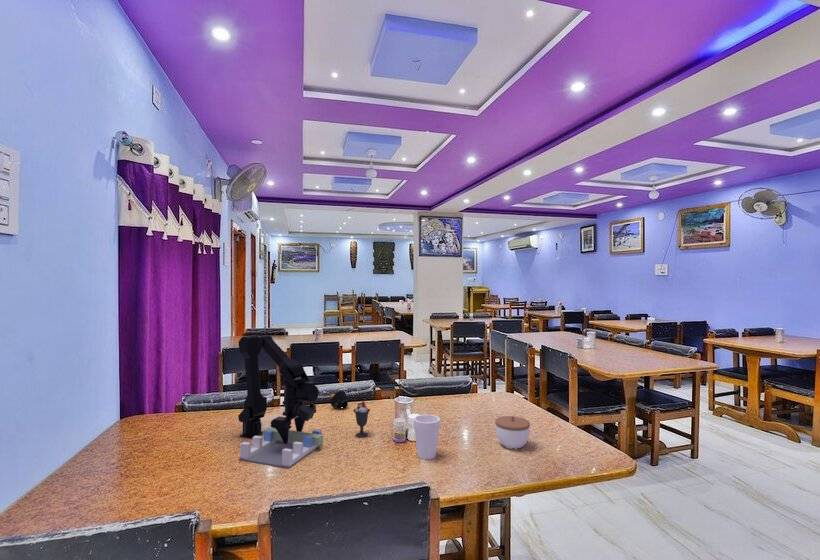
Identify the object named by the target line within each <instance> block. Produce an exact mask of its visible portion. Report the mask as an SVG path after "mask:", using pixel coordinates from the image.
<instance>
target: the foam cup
mask: <svg viewBox="0 0 820 560" xmlns="http://www.w3.org/2000/svg"><path fill="white" fill-rule="evenodd" d="M412 420H413V425H412V426H413V428H414V435H415V437H414V438H415V445H416V452H417V457H418V458H419V459H421V460H433V459H435V458H436V455H437V449H438V448H437V447H438V441H439V440H438V438H439V431H440V427H441V418H440V417H439V416H437V415H435V414H418V415H416V416H414V417H413V419H412Z"/></svg>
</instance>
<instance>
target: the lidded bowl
mask: <svg viewBox="0 0 820 560" xmlns="http://www.w3.org/2000/svg"><path fill="white" fill-rule="evenodd" d="M494 423H495V433H496V437H497V439H498V441H499V442H500V443H501V444H502V446H503V447H504V446H505V447H508V448H521V447H522V448H523V447H524V446H525V444H526V443H527V442H528V440H529V436H530V427H531V423H530V421H529V420H527V419H526V418H523V417H519V416H515V415H504V416H499V417H497V418H496V419H495V422H494ZM505 447H504V448H505ZM508 448H507V449H508ZM522 448H521V449H522Z"/></svg>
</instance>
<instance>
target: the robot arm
mask: <svg viewBox="0 0 820 560" xmlns="http://www.w3.org/2000/svg"><path fill="white" fill-rule="evenodd" d="M238 350H239V354H240V355H241V356H242V357H243V359H244V366H245V368H244V369H245V380H246V397H245V399H244V402H243V409H242V411H241V412H240V414H238V416H237V418H238V422H240V423H242V433H240V434H239V437H242V438H248V439H253V437H254V436H260V435H262V434H263V432H264V430H263V431H262V421H261V419H262V418H264V417H265V415H266V412H267V408H268V403H267V402H268V399H267V398H268V397H266V396H264V395H263V394H262V393H261V392H262V391H261V381H260V369H259V368H260V367H259V356H260V354H261V352H262V350H263V351H264V352H265V353H266V354H267V355H268V356H269V357H270V359H271V360H272V361H274V363H275V364H276V365H277V367H278V372H279V373H280V375H281V377H282V379H283V380H282V382H281V383H280V385H281V386H283V387H284V400H283V401H282V405H284V411H283V412H282V416H276V417H274V418H273V419H272V420H271V421H270V428H275V429H276V430H277V431H278V433H279V434H280V436H281V438H282V440H283V442H284V444H287V443H288V433H289V430H291V428H292V421H293V420H294V425H295V431H299V432H303V428H304V426H305V422H308V421H309V420H311V419H313V417H314V415H315V414H316V413H317V404H316V403H314V402H315V401H317V399H318V397H319V395H320V393H319V392H320V390H319V388H318V386H316V383H315V381H310V378H309V376H308V375H307V373H306V371H305V368H304V366H303V365H302V364H301V363H300V362H299V361H298V360H296V359H294V358H291V357H289V356H288V355H287V354H286V353H285V351H284V350H283V349H282V348H281V347H280V345H278V344H277V343H276V342H275V340H274V339H273V337H272V336H271V335H268V334H267V335H261V336H259V335H257V334H253V335H246V336H242V337H241V338H240V339H239V340H238ZM305 402H311V403H310V404H304V403H305Z"/></svg>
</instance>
